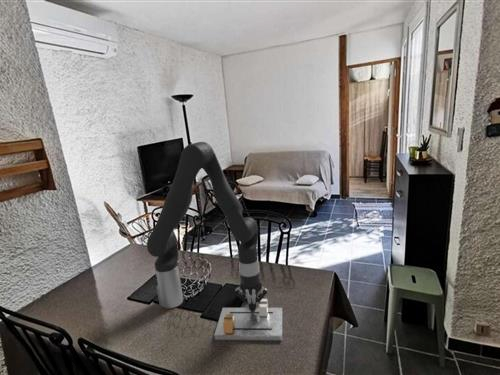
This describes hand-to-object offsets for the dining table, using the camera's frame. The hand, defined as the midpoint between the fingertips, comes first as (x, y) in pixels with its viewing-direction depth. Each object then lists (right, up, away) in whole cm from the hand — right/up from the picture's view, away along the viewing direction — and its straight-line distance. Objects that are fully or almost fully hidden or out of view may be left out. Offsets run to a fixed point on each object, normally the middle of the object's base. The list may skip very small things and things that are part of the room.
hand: (253, 310), depth 114 cm
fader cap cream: (+4, -1, 0) cm, 4 cm away
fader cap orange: (-9, -4, -7) cm, 12 cm away
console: (-1, -4, -3) cm, 5 cm away
